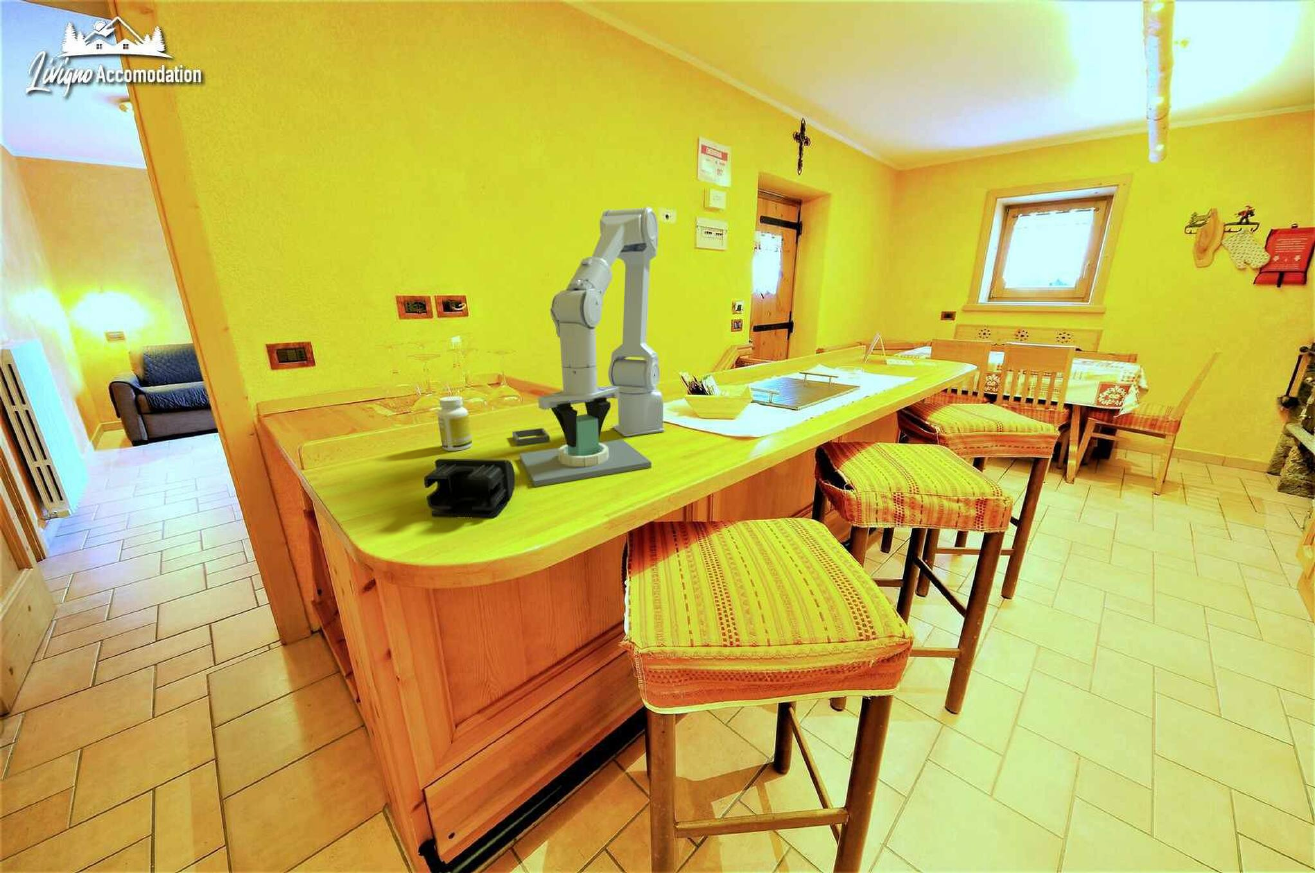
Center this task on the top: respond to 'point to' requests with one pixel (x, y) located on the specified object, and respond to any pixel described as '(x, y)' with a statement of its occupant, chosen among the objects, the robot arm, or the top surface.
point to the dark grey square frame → (528, 433)
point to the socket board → (564, 473)
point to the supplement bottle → (454, 424)
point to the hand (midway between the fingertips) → (583, 443)
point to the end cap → (470, 487)
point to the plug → (585, 436)
